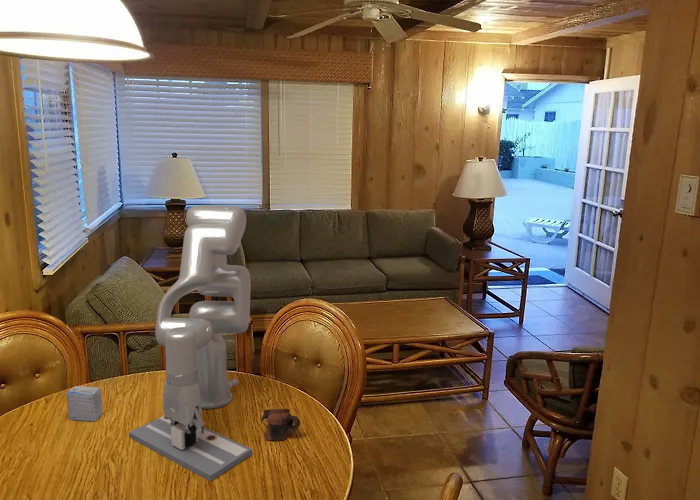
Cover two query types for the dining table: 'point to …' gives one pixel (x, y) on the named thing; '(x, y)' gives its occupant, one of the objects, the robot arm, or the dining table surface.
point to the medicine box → (84, 403)
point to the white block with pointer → (180, 435)
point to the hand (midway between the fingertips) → (184, 441)
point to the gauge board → (193, 448)
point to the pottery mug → (280, 423)
